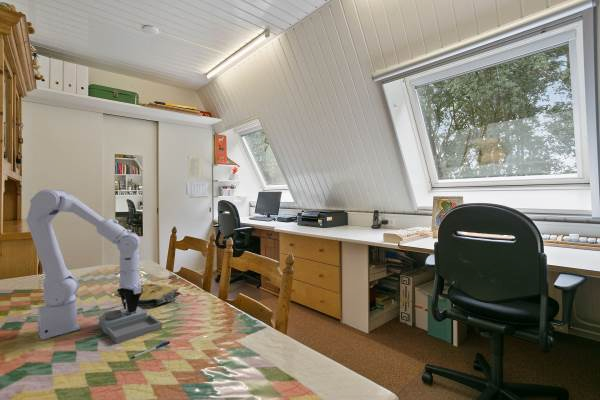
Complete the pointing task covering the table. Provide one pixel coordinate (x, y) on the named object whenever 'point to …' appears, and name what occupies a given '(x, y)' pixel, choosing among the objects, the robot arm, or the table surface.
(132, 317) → the block
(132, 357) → the ballpoint pen
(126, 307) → the lock pin
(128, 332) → the tray
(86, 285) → the table surface
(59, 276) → the robot arm
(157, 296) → the pulley block
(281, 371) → the table surface
